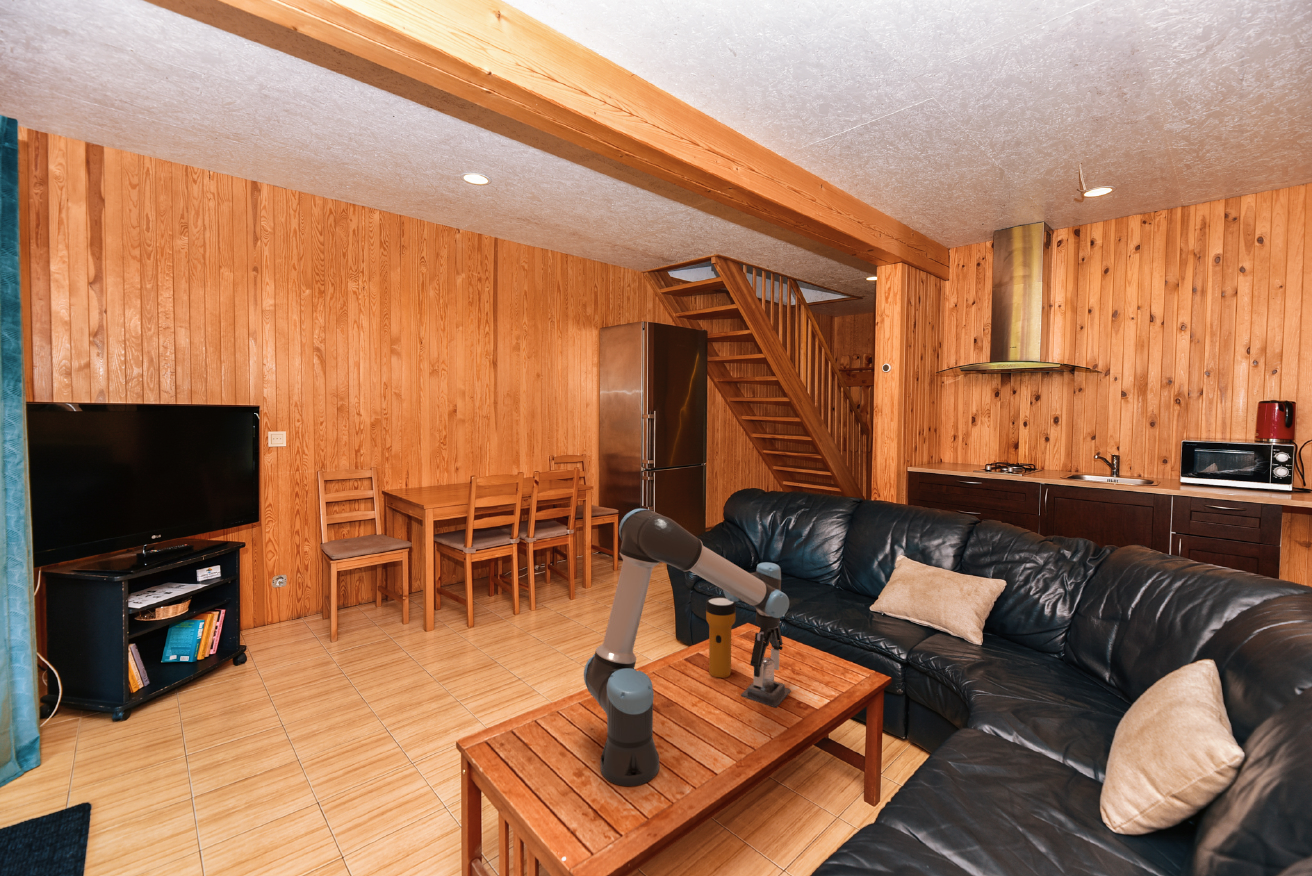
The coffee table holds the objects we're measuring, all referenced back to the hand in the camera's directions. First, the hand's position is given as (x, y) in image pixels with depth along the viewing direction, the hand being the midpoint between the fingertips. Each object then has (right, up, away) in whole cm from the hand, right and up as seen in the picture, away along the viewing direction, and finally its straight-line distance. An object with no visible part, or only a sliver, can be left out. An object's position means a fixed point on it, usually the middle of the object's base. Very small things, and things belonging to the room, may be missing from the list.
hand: (766, 677), depth 181 cm
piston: (0, -5, 0) cm, 5 cm away
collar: (0, -6, 0) cm, 6 cm away
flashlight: (-13, -5, +14) cm, 20 cm away
